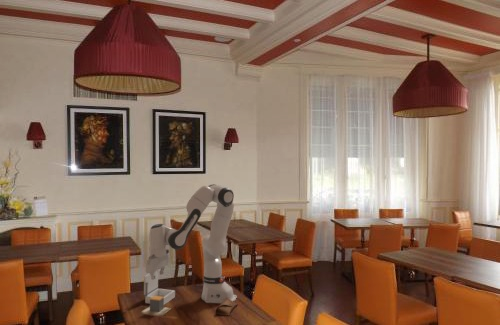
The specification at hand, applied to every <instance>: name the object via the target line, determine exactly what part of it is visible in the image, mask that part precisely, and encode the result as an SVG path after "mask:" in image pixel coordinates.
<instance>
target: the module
mask: <svg viewBox="0 0 500 325" xmlns="http://www.w3.org/2000/svg"><path fill="white" fill-rule="evenodd" d="M149 306H150V311H155V312H160V311H161V310H163V309H164V307H165V305H164V297H161V296H153V297H152V298H150V304H149Z"/></svg>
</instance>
